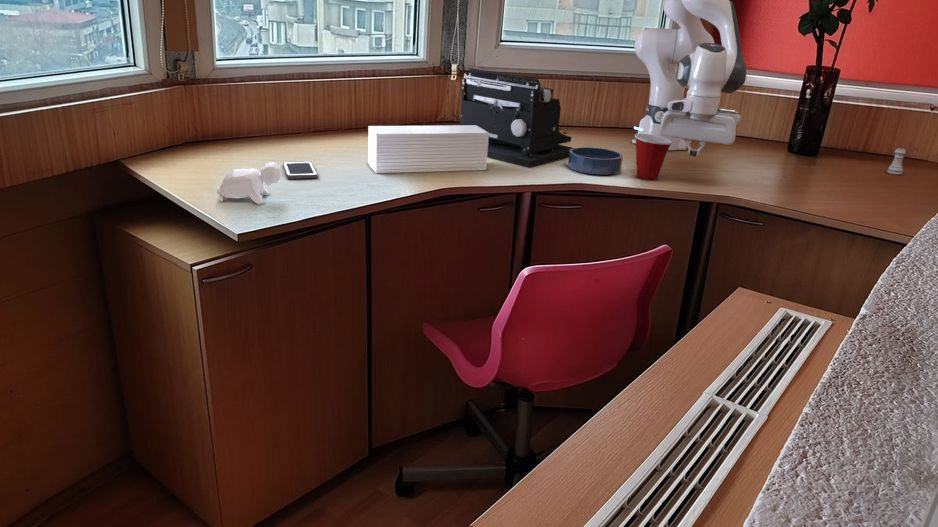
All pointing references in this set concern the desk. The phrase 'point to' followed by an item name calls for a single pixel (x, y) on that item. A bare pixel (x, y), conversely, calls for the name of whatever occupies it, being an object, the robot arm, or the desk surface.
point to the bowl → (595, 160)
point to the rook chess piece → (897, 163)
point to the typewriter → (514, 117)
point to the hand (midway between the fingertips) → (693, 156)
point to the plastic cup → (650, 155)
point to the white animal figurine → (250, 182)
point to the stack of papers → (427, 148)
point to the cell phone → (300, 169)
